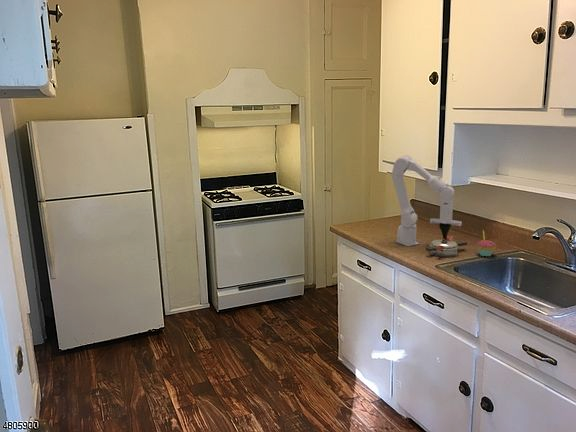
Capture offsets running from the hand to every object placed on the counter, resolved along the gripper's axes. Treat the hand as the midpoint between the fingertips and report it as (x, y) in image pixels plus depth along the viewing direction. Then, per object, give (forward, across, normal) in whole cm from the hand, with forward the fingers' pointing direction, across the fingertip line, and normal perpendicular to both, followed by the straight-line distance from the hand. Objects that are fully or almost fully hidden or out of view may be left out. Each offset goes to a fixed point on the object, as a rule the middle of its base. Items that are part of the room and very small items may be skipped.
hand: (444, 238), depth 237 cm
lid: (0, +2, -8) cm, 8 cm away
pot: (+4, +3, -8) cm, 10 cm away
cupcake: (+5, +20, -4) cm, 20 cm away
